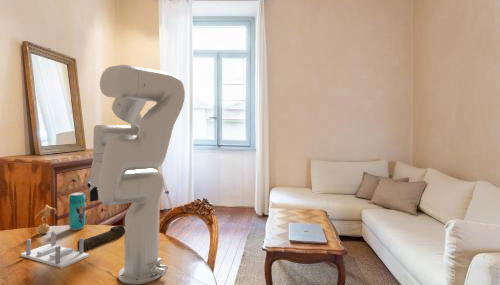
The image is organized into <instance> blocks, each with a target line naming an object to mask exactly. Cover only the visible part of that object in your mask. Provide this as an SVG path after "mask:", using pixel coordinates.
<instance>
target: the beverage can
mask: <svg viewBox="0 0 500 285" xmlns="http://www.w3.org/2000/svg"><path fill="white" fill-rule="evenodd" d="M68 199H69V202H68V204H69V206H68V209H69V210H68V215H69V216H68V217H69V218H68V219H69V220H68V224H69V225H68V226H69V228H70V230H71V231H79V230H82V229H83V228H84V227H85V224H86V195H85V192H83V191H81V192H72V193H70V194H69V198H68Z"/></svg>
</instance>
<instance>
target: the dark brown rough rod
mask: <svg viewBox="0 0 500 285" xmlns="http://www.w3.org/2000/svg"><path fill="white" fill-rule="evenodd" d="M122 236H125V225H123V224H120V225H116V226H113V227H111V228H110V230H108V231H105V232H103V233H99V234H97V235H94V236H90V237H87V238H85V239H84V246H83V252H85V251H86V250H89V249H90V248H92V247H95V246H97V245H100V244H103V243H105V242H108V241H110V240H117V239H119V238H121V237H122ZM76 244H77V245H76V246H77V251H79V240H78V241H77V243H76Z"/></svg>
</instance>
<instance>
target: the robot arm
mask: <svg viewBox="0 0 500 285" xmlns="http://www.w3.org/2000/svg"><path fill="white" fill-rule="evenodd" d="M99 87H100V92H101V94H102V95H104V96H105V97H108V98H114V100H113V102H112V105H111V110H112V112H113V114H114V115H115V116H116V117H117V118H118V119H119V120H121V121H124V122H126V123H128V124H130V125H127V124H126V125H125V124H96V125H94V126H93V135H92V136H93V140H92V141H93V146H92V147H93V148H92V149H93V150H92V162H91V167H90V175H89V176H88V177H87V178H86V179H85V181H86V184H87V187H88V191H89V202H91V203H92V202H96V201H100V202H101V203H102V204H103V205H105V206H118V205H124V204H129V203H131V204H130V205H129V207H128V209H127V211H126V214H125V216H124V218H125V219H124V229H125V234H124V258H123V259H124V261H123V262H124V263H123V264H124V266H123V267H122V268H120V269H119V271H118V273H117V274H118V275H117V278H118V280H119V281H120V282H121V283H123V284H126V285H142V284H147V283H151V282H153V281H155V280H157V279H158V278H160V277H164V276H167V275H166V274H167V270H168V269H169V266H168V265H167V264H163V263H162V257H159V255H160V254H159V252H160V250H159V249H160V247H159V245H160V244H159V243H160V212H161V210H160V209H161V199H162V194H163V191H164V190H163V189H164V182H165V181H164V177H163V175H162V173H161V171H159V170H158V169H157V168H159V167H161V166H162V165H163V164H164V162H165V160H166V156H167V153H168V150H169V145H170V141H171V137H172V134H173V129H174V126H175V124H176V121H177V119H178V118H179V115H180V113H181V111H182V109H183V106H184V103H185V96H186V92H185V86H184V83H183V82H182V79H180V78H179V77H178V76H176V75H174V74H172V73H169V72H166V71H163V70H156V69H150V68H144V67H140V66H139V67H138V66H133V65H128V64H119V65H113V66H109V67H107V68H106V69H104V71H102V74H101V76H100V79H99ZM147 102H154V103H155V102H156V104H154V105H153V106H152V107H150V108H149V109H148V110H147V111H146V113H145V114H144V115H143V116H142V115H141V112H142V111H143V109H144V108H145V106H146V103H147Z"/></svg>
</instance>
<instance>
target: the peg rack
mask: <svg viewBox="0 0 500 285" xmlns="http://www.w3.org/2000/svg"><path fill="white" fill-rule="evenodd" d="M50 240H51V241H50V243H48V244H45V245H42V246H39V247H36V248H33V249H32V239H31V238H28V239H26V240H25V242H26V243H25V244H26V247H25V249H26V250H25V251H24V252H21V253H20V257H23V258H26V259H30V260H33V261H37V262H40V263H43V264H47V265H50V266H53V267H58V268H60V269H64V268H67V267H68V266H71V265H73V264H75V263H78V262H79V261H82V260H84V259H86V258H88V257H90V253H87V252H85V251H83V246H84V240H85V239H84V237H80V238H79V240H78V241H79V250H76V249H73V248H72V247H63V246H61V245H60V244H59V245H58V244H56V231H51V232H50Z"/></svg>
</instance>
